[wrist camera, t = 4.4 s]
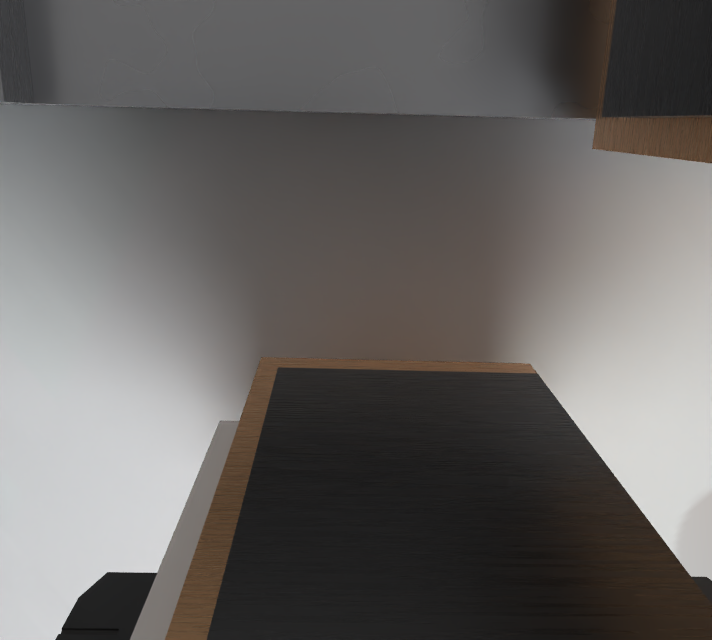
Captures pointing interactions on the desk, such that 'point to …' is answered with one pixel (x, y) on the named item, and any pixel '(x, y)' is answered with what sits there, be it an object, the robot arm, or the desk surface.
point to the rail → (380, 60)
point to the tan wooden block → (424, 516)
